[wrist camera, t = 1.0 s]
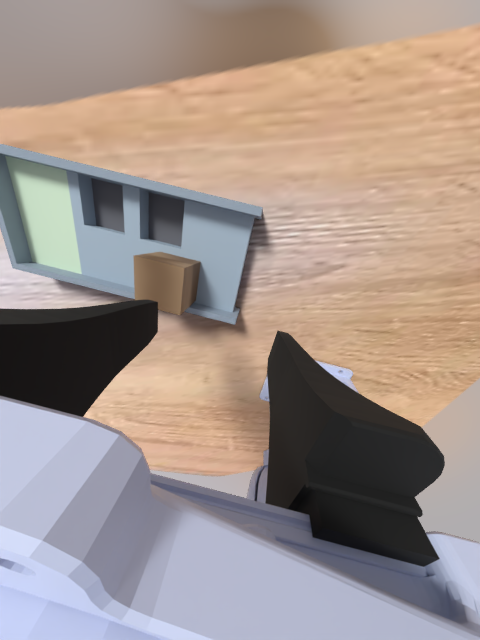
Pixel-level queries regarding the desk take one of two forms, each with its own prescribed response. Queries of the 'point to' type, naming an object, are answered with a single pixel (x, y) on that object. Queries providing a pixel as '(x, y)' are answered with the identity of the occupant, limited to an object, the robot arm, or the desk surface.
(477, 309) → the desk surface
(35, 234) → the box
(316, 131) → the desk surface
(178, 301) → the block
